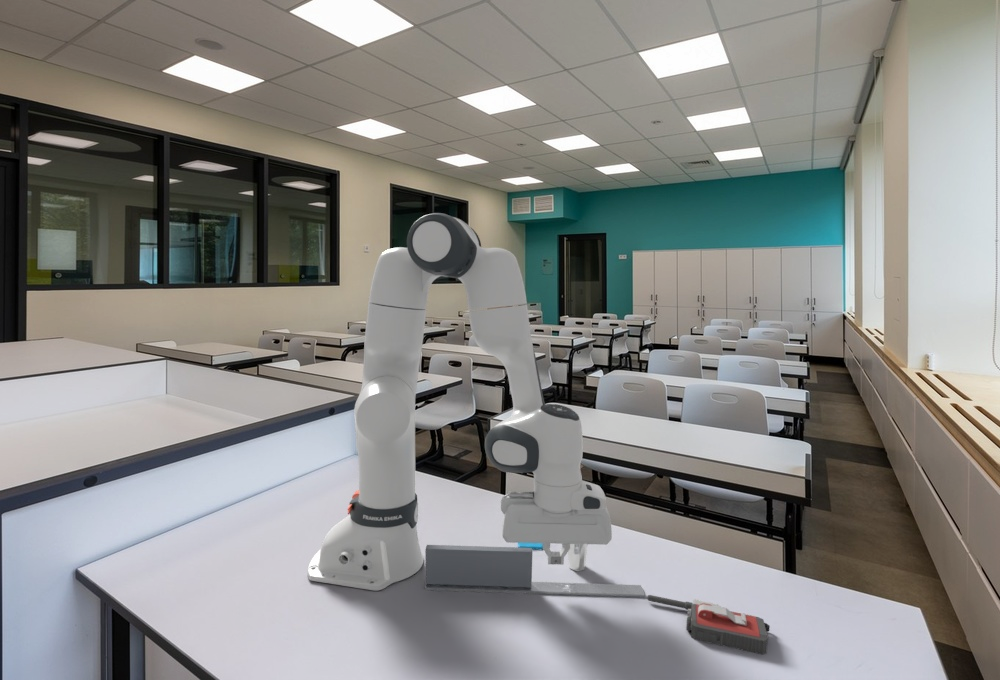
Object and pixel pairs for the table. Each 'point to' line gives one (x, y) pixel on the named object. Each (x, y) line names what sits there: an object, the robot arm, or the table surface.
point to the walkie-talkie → (722, 625)
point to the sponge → (531, 545)
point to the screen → (479, 565)
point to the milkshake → (577, 556)
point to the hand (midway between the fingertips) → (555, 563)
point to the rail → (550, 589)
